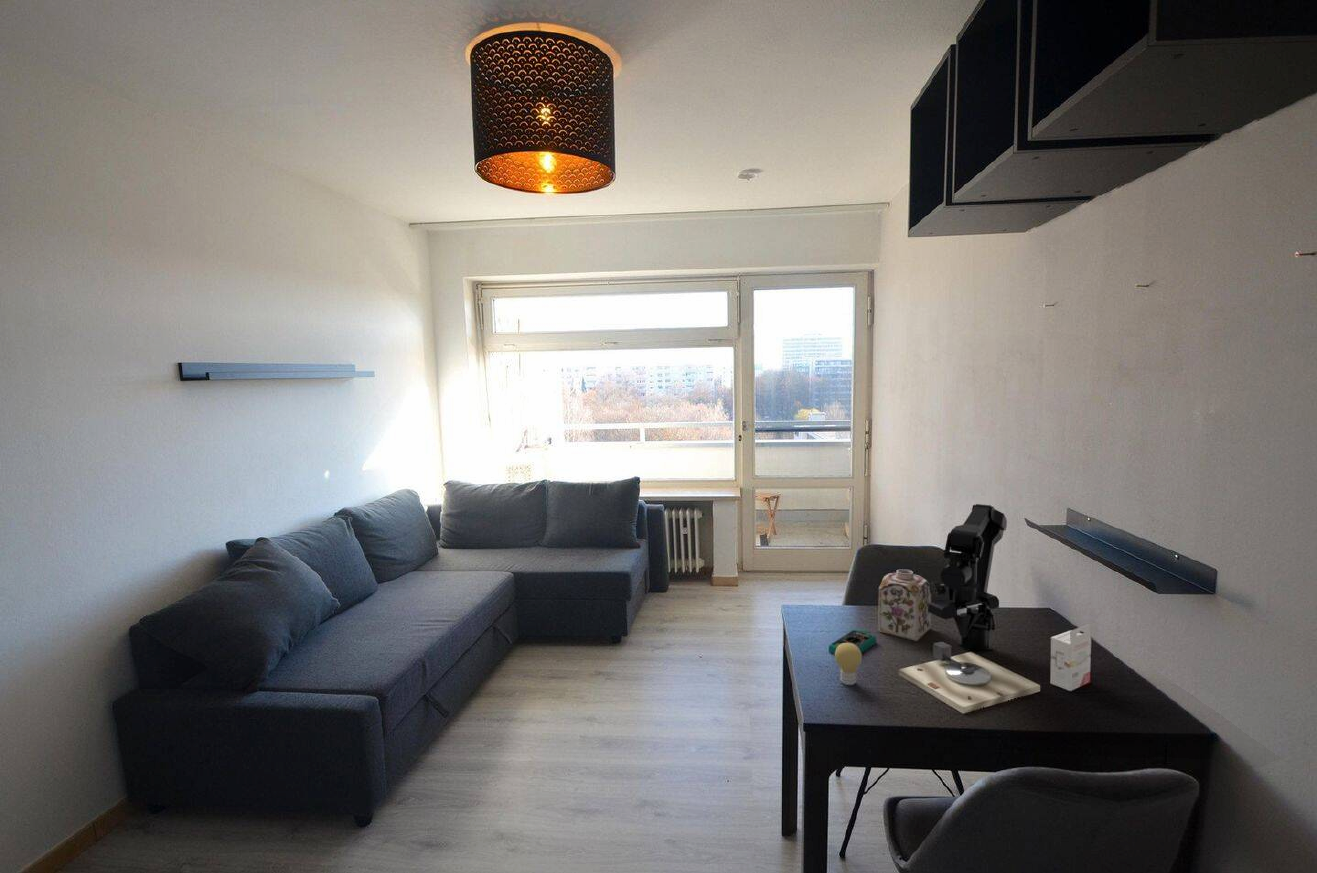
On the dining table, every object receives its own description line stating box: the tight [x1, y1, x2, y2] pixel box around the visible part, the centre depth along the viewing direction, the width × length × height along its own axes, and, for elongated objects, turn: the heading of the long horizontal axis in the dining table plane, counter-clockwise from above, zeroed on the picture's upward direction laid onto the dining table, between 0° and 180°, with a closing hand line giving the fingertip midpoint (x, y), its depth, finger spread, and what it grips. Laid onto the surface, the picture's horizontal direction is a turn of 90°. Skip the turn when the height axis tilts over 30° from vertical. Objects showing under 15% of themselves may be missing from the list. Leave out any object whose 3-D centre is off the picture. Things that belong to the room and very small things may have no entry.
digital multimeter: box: [828, 629, 877, 655], centre depth 176 cm, size 7×15×3 cm, turn 135°
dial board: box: [898, 651, 1041, 715], centre depth 155 cm, size 24×20×2 cm
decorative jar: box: [877, 568, 932, 642], centre depth 186 cm, size 12×12×18 cm
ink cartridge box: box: [1049, 624, 1092, 692], centre depth 152 cm, size 9×5×15 cm, turn 117°
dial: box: [932, 641, 991, 686], centre depth 156 cm, size 14×10×5 cm
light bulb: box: [834, 643, 863, 686], centre depth 156 cm, size 6×6×10 cm
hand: (963, 636), depth 164 cm, fingers closed
